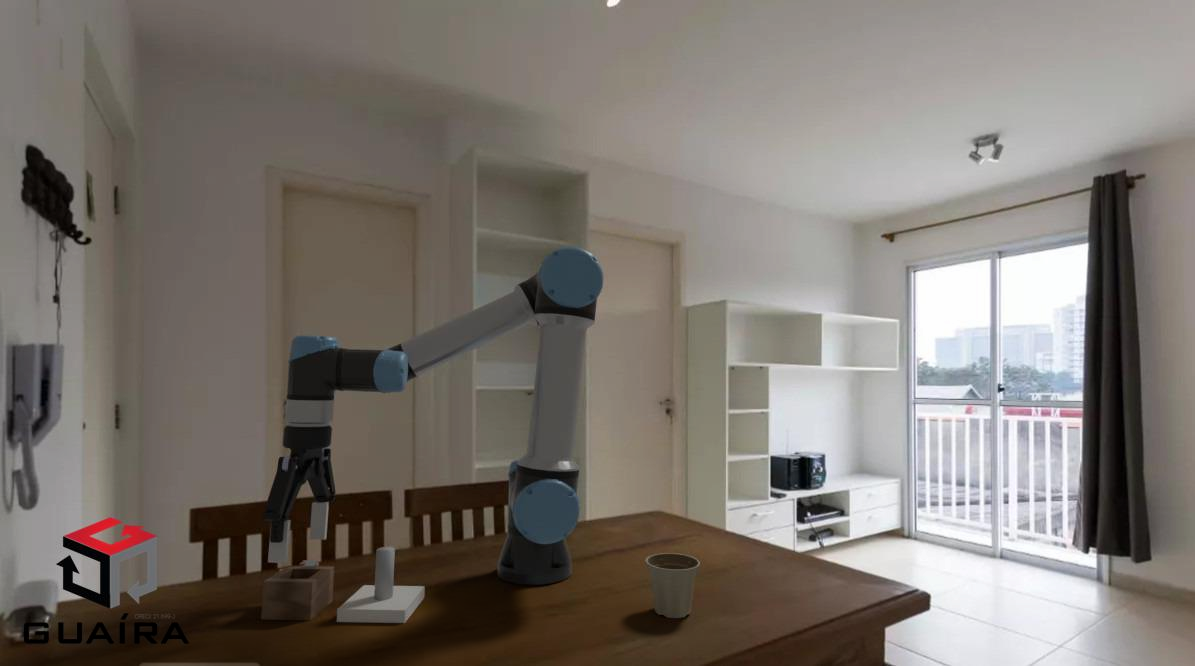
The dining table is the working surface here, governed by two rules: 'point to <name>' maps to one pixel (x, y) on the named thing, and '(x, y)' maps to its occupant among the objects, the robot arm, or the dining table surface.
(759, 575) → the dining table surface
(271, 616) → the open brown box
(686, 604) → the flower pot
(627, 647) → the dining table surface
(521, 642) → the dining table surface
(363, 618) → the post block
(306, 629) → the dining table surface
